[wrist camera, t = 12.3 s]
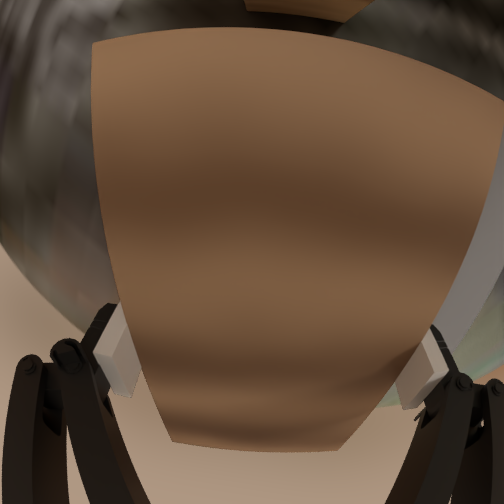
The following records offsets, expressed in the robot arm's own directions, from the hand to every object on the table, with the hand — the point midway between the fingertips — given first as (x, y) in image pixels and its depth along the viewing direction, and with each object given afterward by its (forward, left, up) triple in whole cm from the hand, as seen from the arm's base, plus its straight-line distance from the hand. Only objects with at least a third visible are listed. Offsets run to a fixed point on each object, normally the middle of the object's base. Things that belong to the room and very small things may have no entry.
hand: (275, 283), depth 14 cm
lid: (0, 0, +2) cm, 2 cm away
